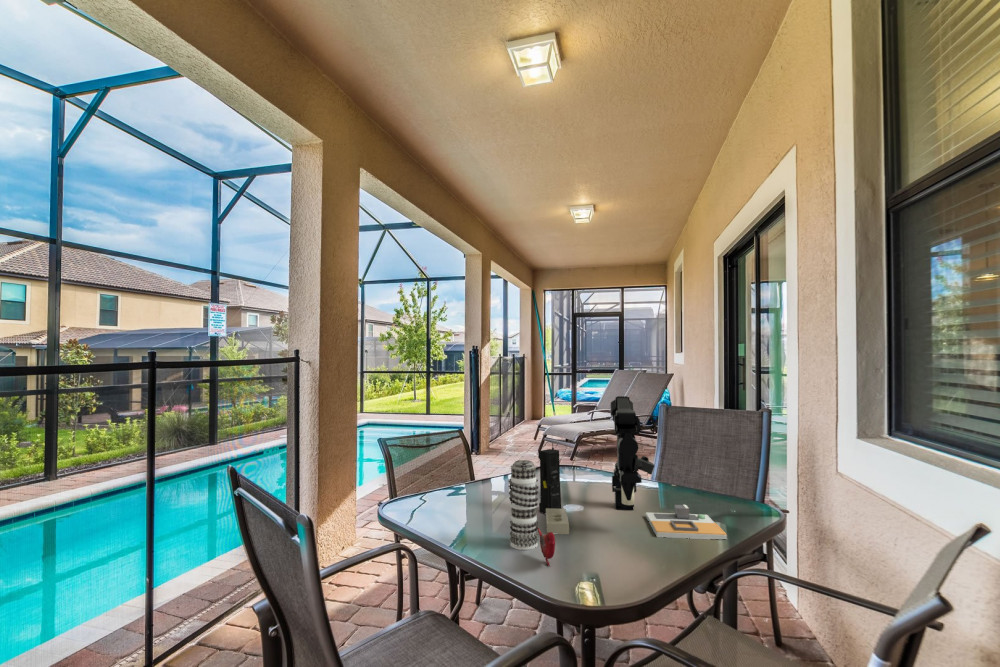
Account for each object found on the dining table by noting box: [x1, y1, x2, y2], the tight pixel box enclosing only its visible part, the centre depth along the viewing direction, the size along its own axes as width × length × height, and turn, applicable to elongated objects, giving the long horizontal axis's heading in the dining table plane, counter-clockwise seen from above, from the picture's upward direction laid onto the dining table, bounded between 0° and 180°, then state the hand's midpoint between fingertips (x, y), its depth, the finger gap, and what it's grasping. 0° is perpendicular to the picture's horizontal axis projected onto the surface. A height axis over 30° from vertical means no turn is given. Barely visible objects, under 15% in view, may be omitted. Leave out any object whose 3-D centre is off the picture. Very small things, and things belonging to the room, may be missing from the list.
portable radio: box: [537, 442, 563, 514], centre depth 172 cm, size 8×6×25 cm
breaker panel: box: [645, 512, 728, 540], centre depth 154 cm, size 21×20×3 cm
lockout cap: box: [621, 485, 635, 506], centre depth 151 cm, size 4×4×6 cm
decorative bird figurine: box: [537, 527, 556, 567], centre depth 129 cm, size 3×18×10 cm, turn 9°
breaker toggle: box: [673, 504, 690, 518], centre depth 160 cm, size 4×4×3 cm
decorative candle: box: [507, 459, 539, 551], centre depth 141 cm, size 9×9×25 cm
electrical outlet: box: [545, 508, 570, 535], centre depth 158 cm, size 7×4×18 cm
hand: (627, 498), depth 150 cm, fingers closed on lockout cap, 4 cm apart
